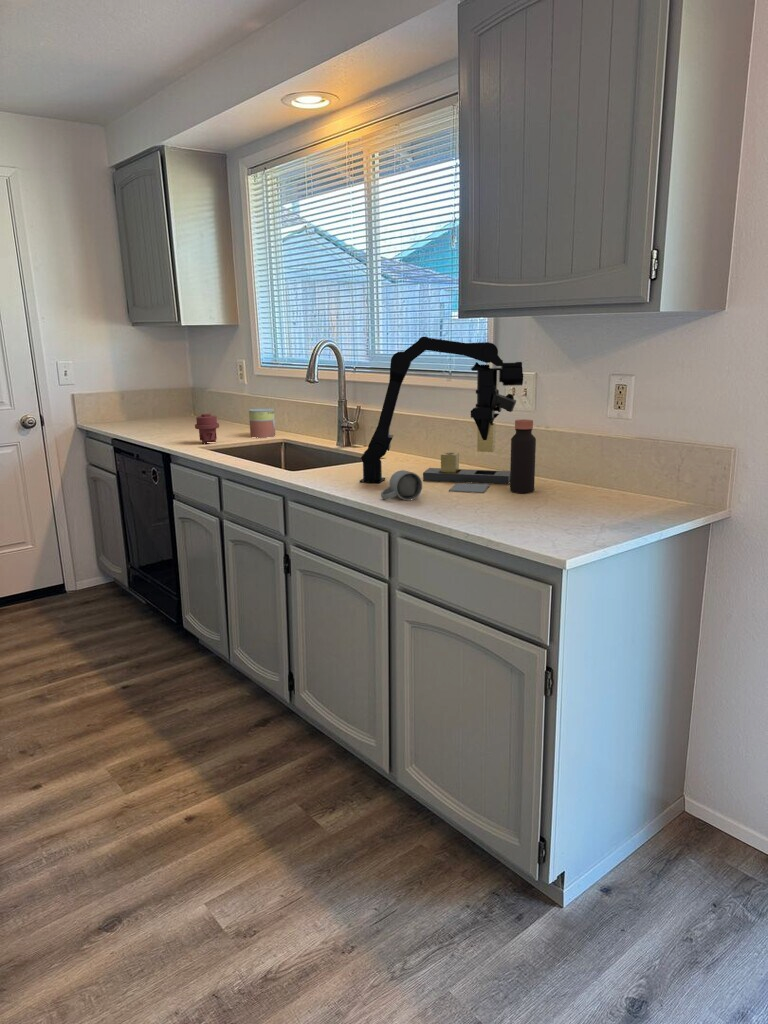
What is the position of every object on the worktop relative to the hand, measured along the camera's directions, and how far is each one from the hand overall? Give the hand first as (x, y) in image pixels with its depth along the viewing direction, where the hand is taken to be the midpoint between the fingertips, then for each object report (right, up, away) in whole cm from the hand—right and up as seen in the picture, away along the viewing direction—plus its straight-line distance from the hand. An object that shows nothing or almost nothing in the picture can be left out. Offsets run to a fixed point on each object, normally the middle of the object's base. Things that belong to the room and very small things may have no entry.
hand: (486, 438), depth 212 cm
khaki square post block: (-10, -12, +7) cm, 17 cm away
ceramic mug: (-26, -18, -17) cm, 36 cm away
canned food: (-85, +12, +106) cm, 137 cm away
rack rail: (-5, -12, +5) cm, 14 cm away
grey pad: (-6, -15, -7) cm, 18 cm away
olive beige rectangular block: (0, -3, +1) cm, 4 cm away
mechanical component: (-105, +7, +89) cm, 138 cm away
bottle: (+8, -16, -12) cm, 22 cm away
